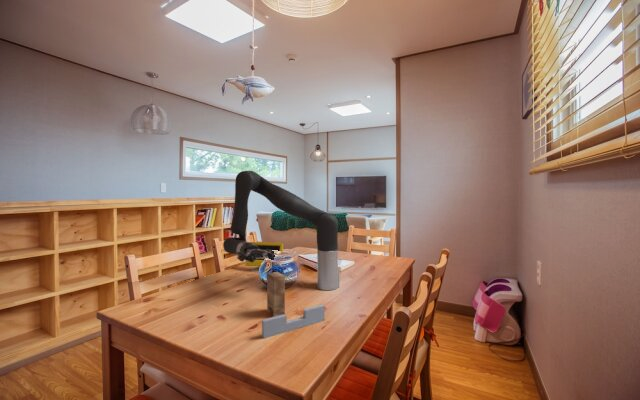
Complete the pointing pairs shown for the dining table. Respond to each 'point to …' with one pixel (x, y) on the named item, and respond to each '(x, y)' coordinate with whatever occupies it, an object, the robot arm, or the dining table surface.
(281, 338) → the dining table surface
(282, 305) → the walnut block
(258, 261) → the alarm clock
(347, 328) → the dining table surface
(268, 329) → the slate rail
